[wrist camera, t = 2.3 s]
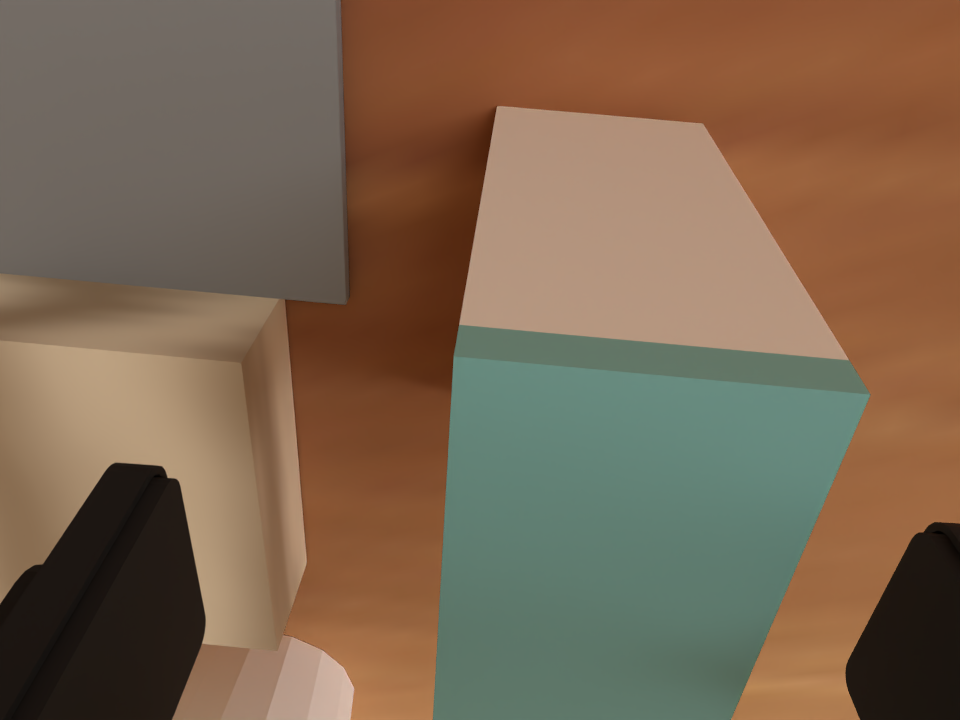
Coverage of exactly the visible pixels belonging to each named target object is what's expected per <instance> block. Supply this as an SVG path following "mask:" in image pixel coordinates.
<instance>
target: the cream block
mask: <svg viewBox="0 0 960 720" xmlns="http://www.w3.org/2000/svg"><path fill="white" fill-rule="evenodd" d="M869 397H870V393H869V391H868V390H867V388H866V386H865V385H864V383H863V382H862V380H861V378H860V377H859V375H858V374H857V372H856V370H855V369H854V367H853V365H852V364H851V362H850V361H849V359H848V357H847V356H846V354H845V353H844V351H843V349H842V348H841V346H840V344H839V343H838V341H837V340H836V338H835V336H834V335H833V333H832V332H831V330H830V328H829V327H828V325H827V323H826V322H825V320H824V319H823V317H822V315H821V314H820V312H819V311H818V309H817V307H816V306H815V304H814V302H813V301H812V299H811V298H810V296H809V294H808V293H807V291H806V289H805V288H804V286H803V285H802V283H801V281H800V280H799V278H798V277H797V275H796V273H795V272H794V270H793V268H792V267H791V265H790V264H789V262H788V260H787V259H786V257H785V256H784V254H783V252H782V251H781V249H780V247H779V246H778V244H777V243H776V241H775V239H774V238H773V236H772V235H771V233H770V231H769V230H768V228H767V226H766V225H765V223H764V222H763V220H762V218H761V217H760V215H759V213H758V212H757V210H756V209H755V207H754V205H753V204H752V202H751V201H750V199H749V197H748V196H747V194H746V192H745V191H744V189H743V188H742V186H741V184H740V183H739V181H738V180H737V178H736V176H735V175H734V173H733V171H732V170H731V168H730V167H729V165H728V163H727V162H726V160H725V159H724V157H723V155H722V154H721V152H720V150H719V149H718V147H717V146H716V144H715V142H714V141H713V139H712V137H711V136H710V134H709V133H708V131H707V129H706V128H705V126H704V125H703V123H691V122H679V121H668V120H656V119H645V118H633V117H621V116H610V115H598V114H586V113H575V112H563V111H552V110H540V109H528V108H517V107H505V106H497V109H496V115H495V121H494V126H493V132H492V138H491V144H490V149H489V155H488V161H487V167H486V173H485V178H484V184H483V190H482V196H481V201H480V207H479V213H478V219H477V225H476V230H475V236H474V242H473V248H472V253H471V259H470V265H469V271H468V277H467V282H466V288H465V294H464V300H463V305H462V311H461V317H460V323H459V329H458V334H457V340H456V346H455V352H454V360H453V377H452V395H451V412H450V430H449V447H448V465H447V482H446V500H445V517H444V534H443V552H442V569H441V587H440V604H439V622H438V639H437V657H436V674H435V692H434V709H433V720H731V718H732V716H733V713H734V711H735V709H736V706H737V704H738V702H739V700H740V697H741V695H742V693H743V690H744V688H745V686H746V683H747V681H748V679H749V676H750V674H751V672H752V669H753V667H754V665H755V662H756V660H757V658H758V655H759V653H760V651H761V648H762V646H763V644H764V641H765V639H766V637H767V634H768V632H769V630H770V627H771V625H772V623H773V620H774V618H775V616H776V613H777V611H778V609H779V606H780V604H781V602H782V599H783V597H784V595H785V592H786V590H787V588H788V586H789V583H790V581H791V579H792V576H793V574H794V572H795V569H796V567H797V565H798V562H799V560H800V558H801V555H802V553H803V551H804V548H805V546H806V544H807V541H808V539H809V537H810V534H811V532H812V530H813V527H814V525H815V523H816V520H817V518H818V516H819V513H820V511H821V509H822V506H823V504H824V502H825V499H826V497H827V495H828V492H829V490H830V488H831V485H832V483H833V481H834V478H835V476H836V474H837V472H838V469H839V467H840V465H841V462H842V460H843V458H844V455H845V453H846V451H847V448H848V446H849V444H850V441H851V439H852V437H853V434H854V432H855V430H856V427H857V425H858V423H859V420H860V418H861V416H862V413H863V411H864V409H865V406H866V404H867V402H868V399H869Z"/></svg>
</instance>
